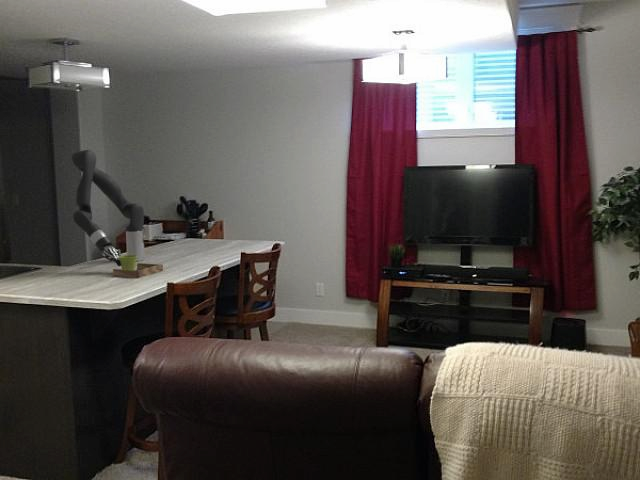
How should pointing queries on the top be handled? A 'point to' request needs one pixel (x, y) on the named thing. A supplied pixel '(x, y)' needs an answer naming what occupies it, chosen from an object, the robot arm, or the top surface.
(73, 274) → the top surface
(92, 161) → the robot arm
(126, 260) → the plant pot
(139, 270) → the wooden u bracket
